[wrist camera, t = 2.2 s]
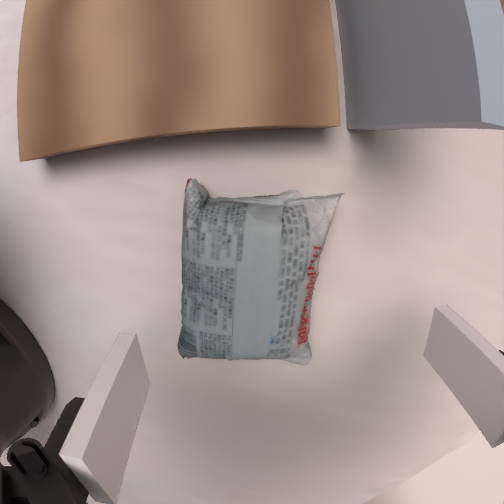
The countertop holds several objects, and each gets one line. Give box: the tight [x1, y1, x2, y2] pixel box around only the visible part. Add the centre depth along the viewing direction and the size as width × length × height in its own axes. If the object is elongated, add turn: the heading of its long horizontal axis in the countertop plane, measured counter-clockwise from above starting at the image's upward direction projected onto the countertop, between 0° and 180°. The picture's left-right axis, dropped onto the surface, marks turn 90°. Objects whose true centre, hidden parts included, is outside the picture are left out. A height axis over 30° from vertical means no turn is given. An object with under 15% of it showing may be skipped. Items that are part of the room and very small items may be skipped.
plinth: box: [17, 0, 340, 162], centre depth 14 cm, size 18×16×3 cm
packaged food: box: [177, 178, 344, 365], centre depth 19 cm, size 9×12×5 cm
